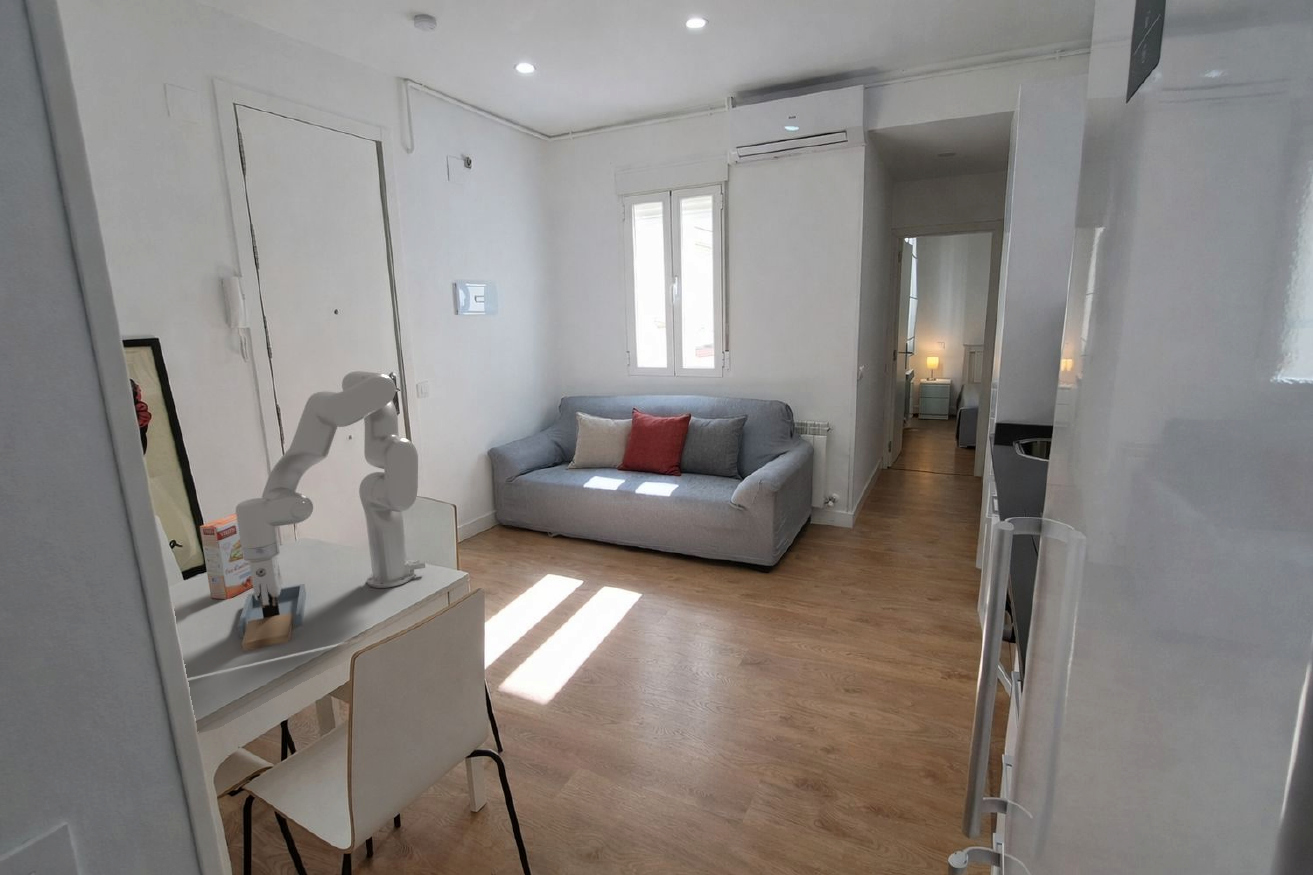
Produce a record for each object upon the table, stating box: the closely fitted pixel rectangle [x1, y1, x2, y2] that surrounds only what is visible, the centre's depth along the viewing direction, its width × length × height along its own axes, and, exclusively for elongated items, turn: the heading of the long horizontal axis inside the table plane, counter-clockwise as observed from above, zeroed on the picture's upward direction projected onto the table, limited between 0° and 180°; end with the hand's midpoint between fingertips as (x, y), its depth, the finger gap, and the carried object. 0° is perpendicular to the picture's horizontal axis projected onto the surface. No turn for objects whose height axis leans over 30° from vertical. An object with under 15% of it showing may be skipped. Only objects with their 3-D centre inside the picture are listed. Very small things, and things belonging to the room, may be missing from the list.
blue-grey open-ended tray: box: [236, 583, 307, 639], centre depth 155 cm, size 13×19×4 cm
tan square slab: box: [241, 613, 293, 652], centre depth 144 cm, size 9×10×2 cm
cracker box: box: [199, 512, 253, 600], centre depth 169 cm, size 14×6×21 cm, turn 168°
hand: (272, 619), depth 150 cm, fingers closed
